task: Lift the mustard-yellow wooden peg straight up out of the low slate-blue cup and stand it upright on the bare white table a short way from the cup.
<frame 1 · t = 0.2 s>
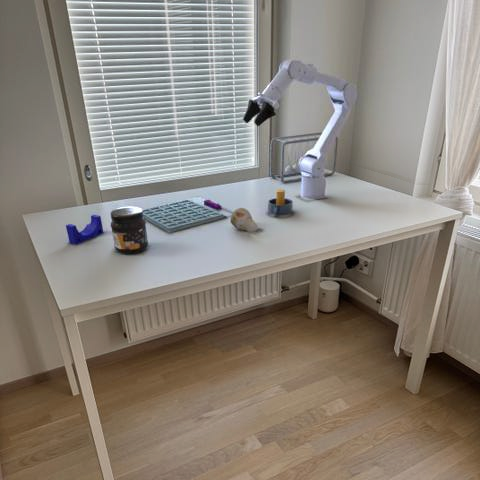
hand: (250, 122, 160), 31 cm above the table, tool tilted 45°, fingers open, 7 cm apart
newton's cradle: (302, 177, 215), on the table
cup: (280, 213, 171), on the table, touching peg
peg: (280, 211, 170), point 1 cm above the table, touching cup
calendar: (184, 214, 172), on the table
cable clip: (85, 237, 153), on the table
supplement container: (132, 248, 145), on the table
rock: (246, 230, 157), on the table
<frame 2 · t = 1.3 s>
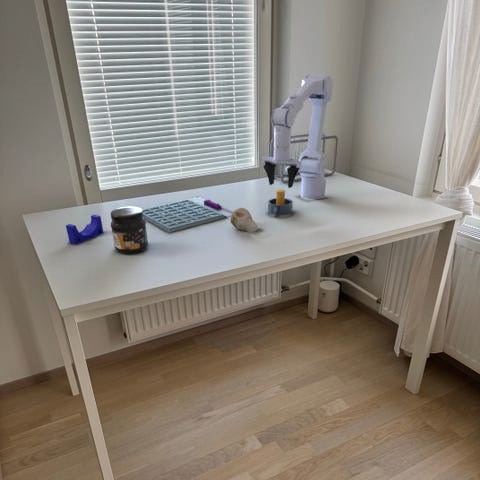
hand: (280, 185, 165), 10 cm above the table, tool pointing down, fingers open, 7 cm apart
nothing on the table moved.
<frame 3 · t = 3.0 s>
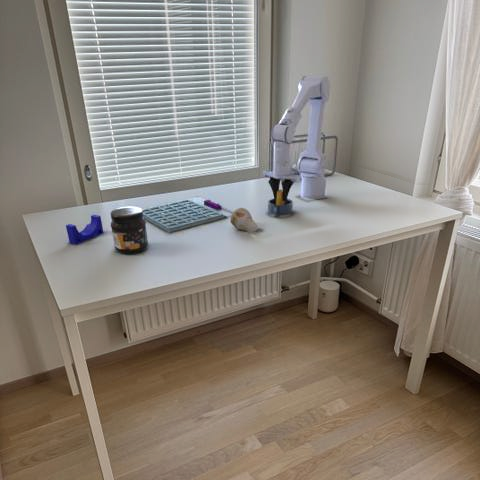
hand: (280, 199, 168), 5 cm above the table, tool pointing down, fingers closed on peg, 3 cm apart
peg: (280, 211, 170), point 1 cm above the table, touching cup, gripper
everything else where it was.
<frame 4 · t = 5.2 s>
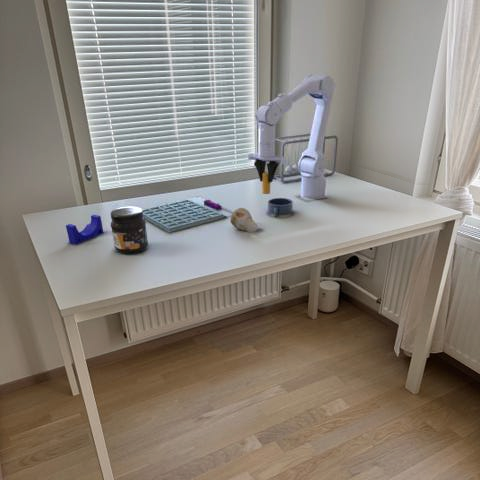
hand: (266, 181, 170), 10 cm above the table, tool pointing down, fingers closed on peg, 3 cm apart
cup: (280, 213, 171), on the table
peg: (266, 193, 173), point 6 cm above the table, touching gripper
everything else where it was.
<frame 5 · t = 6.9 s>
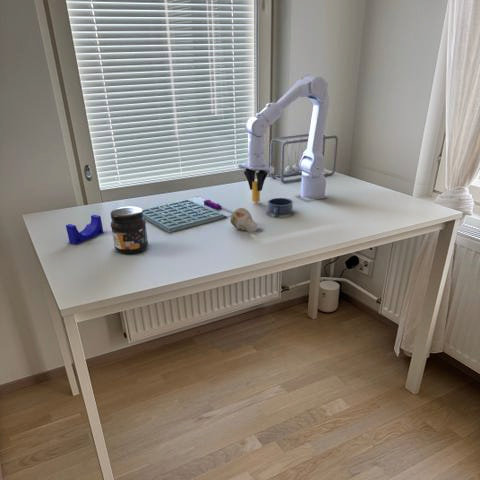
hand: (255, 189, 176), 6 cm above the table, tool pointing down, fingers closed on peg, 3 cm apart
peg: (255, 200, 178), point 2 cm above the table, touching gripper
everything else where it was.
when the fingers open (4 cm above the table, at t = 7.8 s): peg stays where it is, on the table.
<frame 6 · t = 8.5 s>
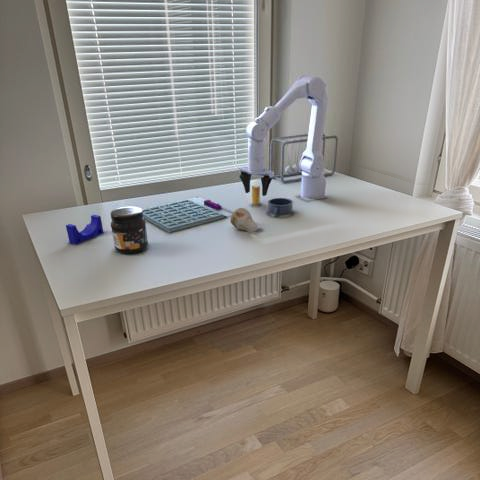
hand: (256, 193, 177), 5 cm above the table, tool pointing down, fingers open, 7 cm apart
peg: (255, 205, 179), on the table
everything else where it was.
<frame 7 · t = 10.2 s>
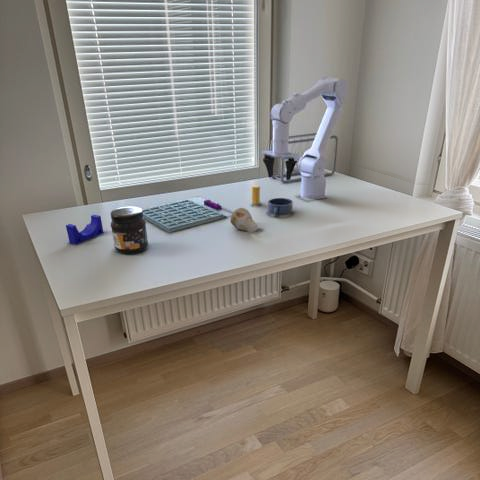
hand: (279, 178, 174), 10 cm above the table, tool pointing down, fingers open, 7 cm apart
nothing on the table moved.
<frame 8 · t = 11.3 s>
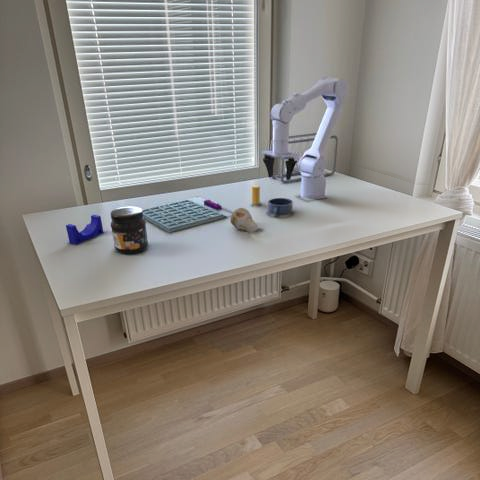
hand: (279, 178, 174), 10 cm above the table, tool pointing down, fingers open, 7 cm apart
nothing on the table moved.
at the end: peg inside the target area (0.1 cm from its centre), on the table; peg tilted 0°; cup moved 0.0 cm from its start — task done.
